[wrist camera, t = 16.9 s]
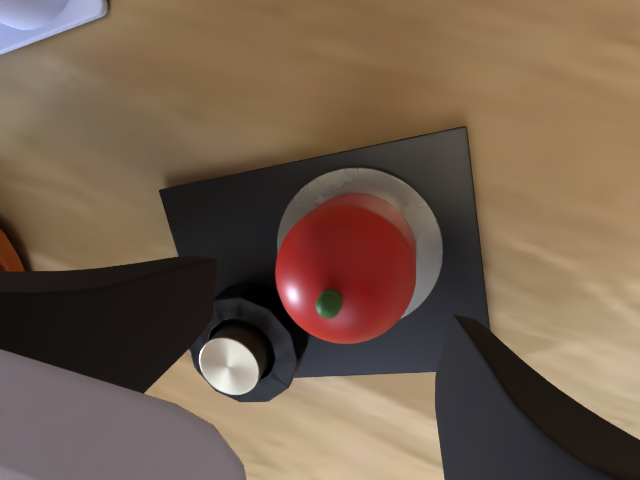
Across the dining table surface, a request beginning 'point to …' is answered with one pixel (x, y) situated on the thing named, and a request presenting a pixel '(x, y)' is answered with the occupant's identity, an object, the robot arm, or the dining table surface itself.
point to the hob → (261, 255)
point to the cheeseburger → (8, 255)
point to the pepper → (347, 269)
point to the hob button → (235, 358)
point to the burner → (391, 193)
